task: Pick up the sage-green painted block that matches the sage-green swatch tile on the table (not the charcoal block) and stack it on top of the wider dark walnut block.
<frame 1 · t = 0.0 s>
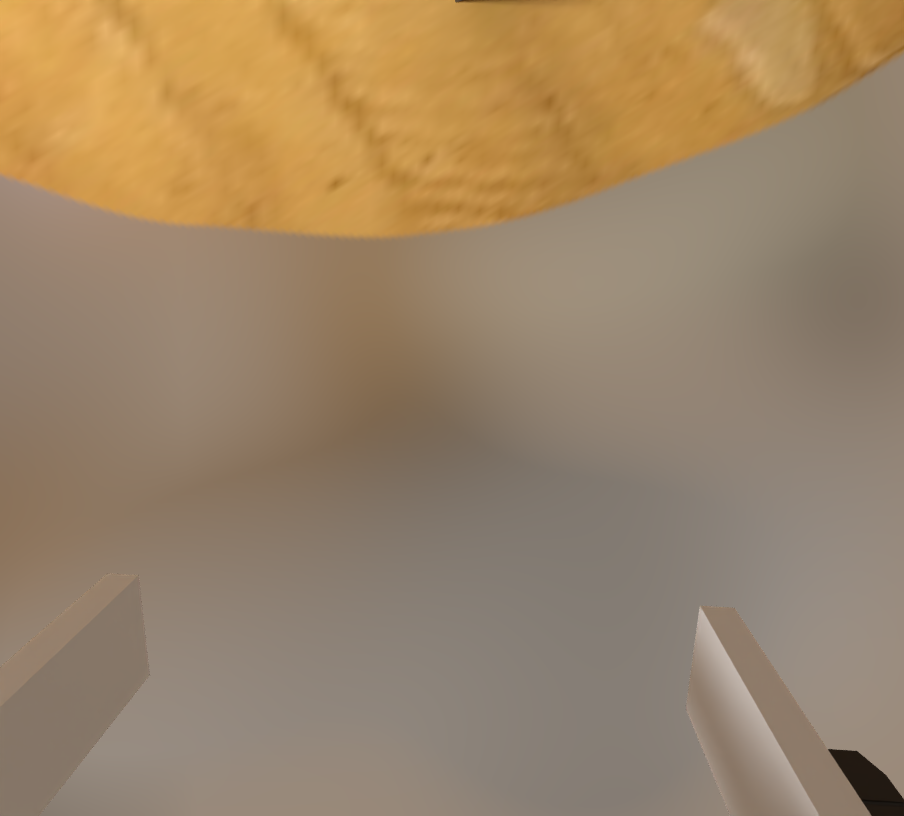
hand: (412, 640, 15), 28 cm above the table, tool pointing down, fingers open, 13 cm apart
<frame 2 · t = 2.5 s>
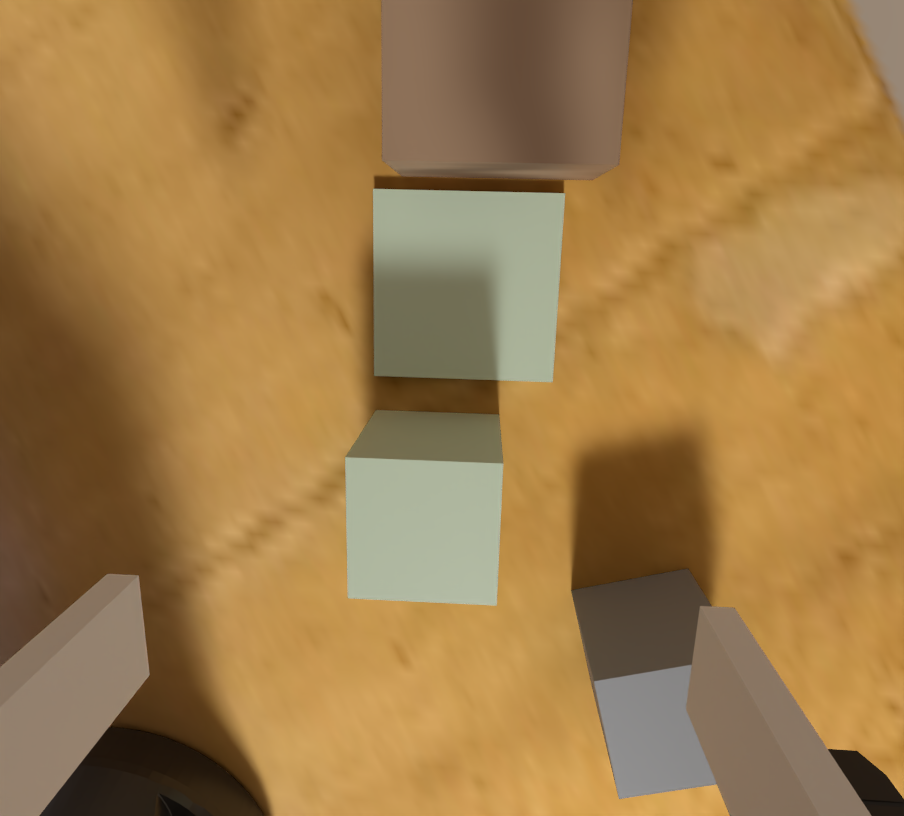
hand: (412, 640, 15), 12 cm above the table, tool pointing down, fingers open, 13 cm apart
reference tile: (465, 287, 25), on the table
sage block: (436, 469, 27), on the table
charcoal block: (638, 629, 28), on the table
walnut base: (500, 75, 23), on the table
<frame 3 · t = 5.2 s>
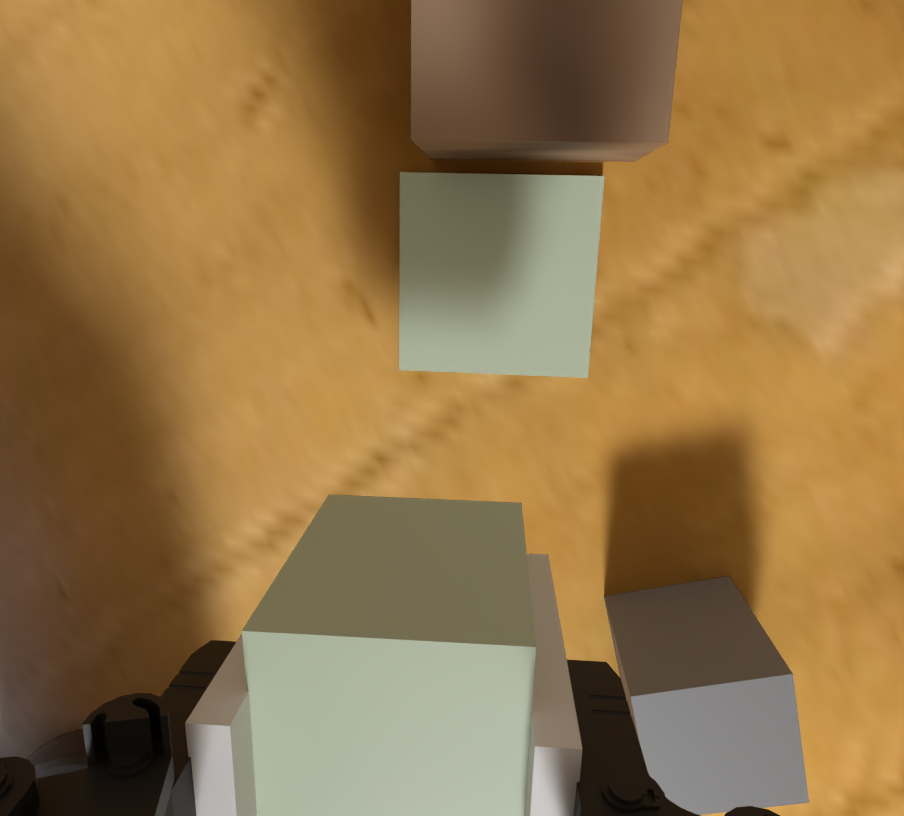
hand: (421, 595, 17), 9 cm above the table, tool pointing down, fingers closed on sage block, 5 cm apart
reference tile: (496, 277, 23), on the table
sage block: (423, 585, 17), point 9 cm above the table, touching gripper
charcoal block: (674, 638, 27), on the table
walnut base: (536, 49, 21), on the table
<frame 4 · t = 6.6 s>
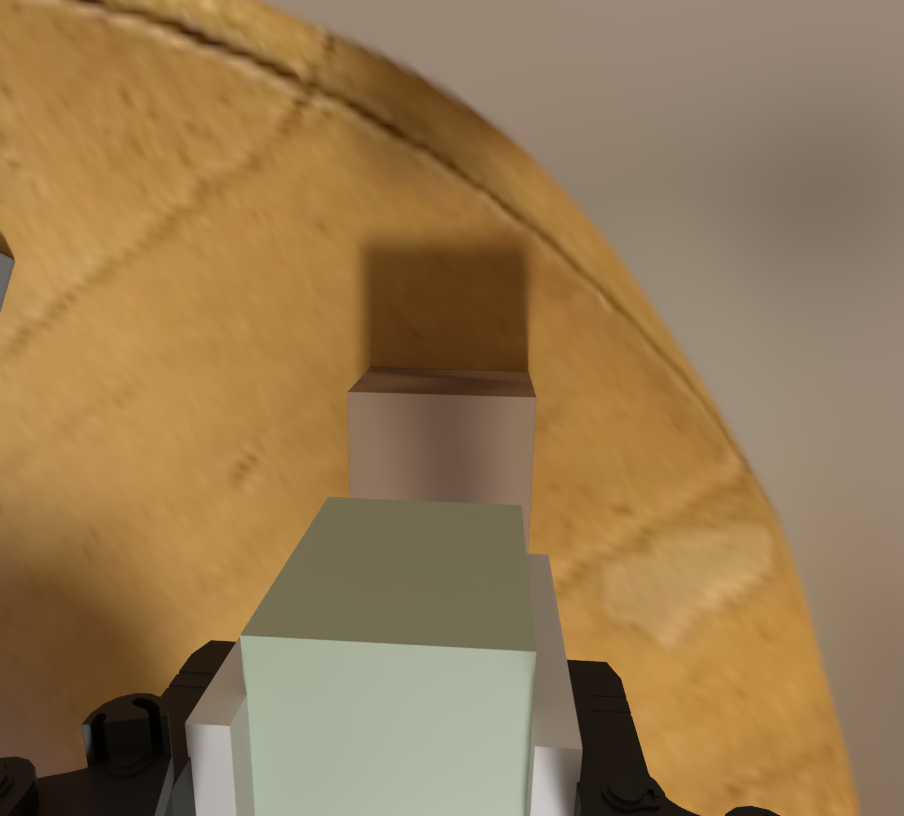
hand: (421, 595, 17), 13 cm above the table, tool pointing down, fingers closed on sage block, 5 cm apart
sage block: (423, 587, 17), point 12 cm above the table, touching gripper
walnut base: (448, 443, 29), on the table
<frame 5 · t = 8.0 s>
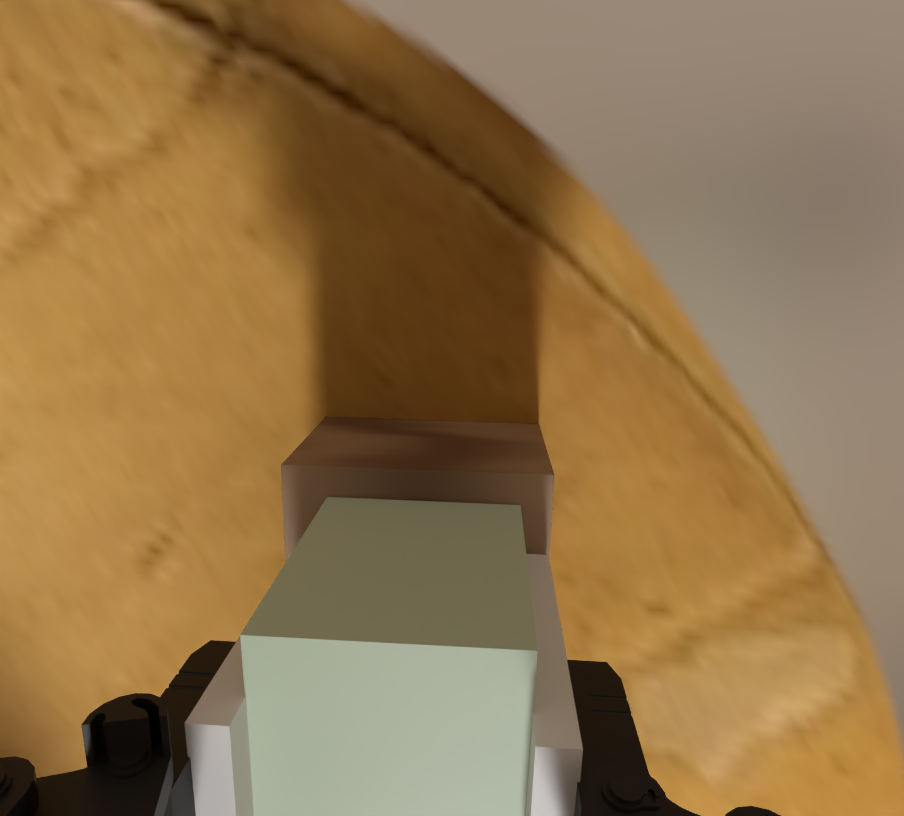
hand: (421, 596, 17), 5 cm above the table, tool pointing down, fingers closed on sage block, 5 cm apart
sage block: (422, 587, 17), point 5 cm above the table, touching gripper, walnut base
walnut base: (430, 516, 22), on the table, touching gripper, sage block
when the fingers open (5 cm above the table, at t = 8.4 s): sage block stays where it is, point 5 cm above the table.
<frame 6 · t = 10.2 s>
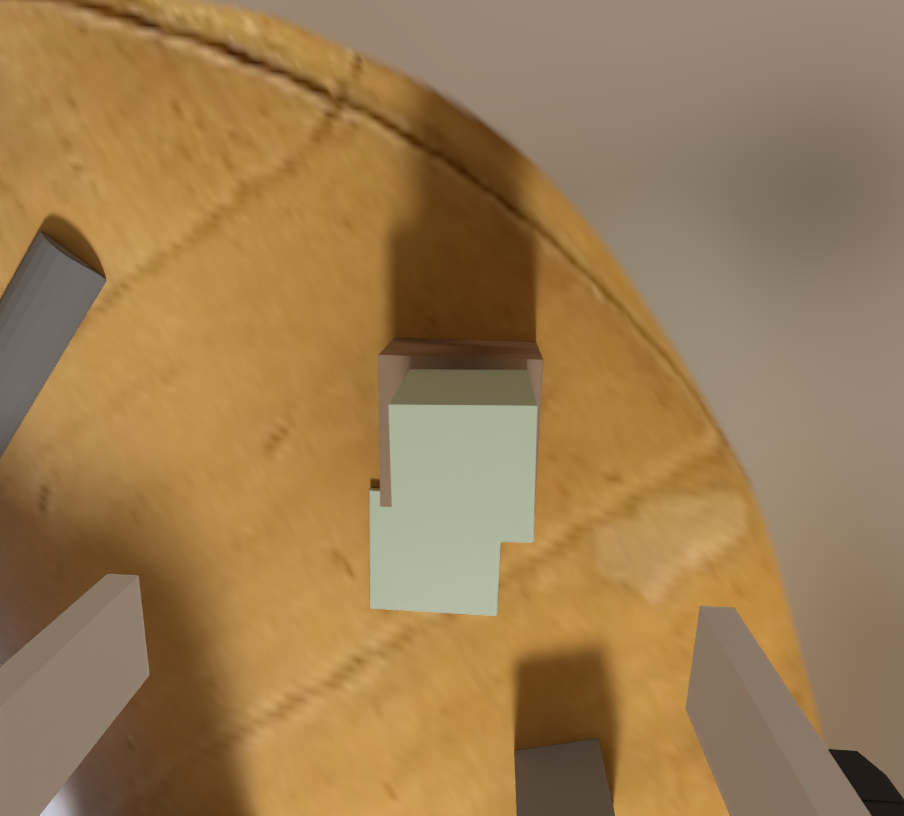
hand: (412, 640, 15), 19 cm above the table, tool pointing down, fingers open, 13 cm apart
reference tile: (435, 551, 35), on the table
sage block: (468, 425, 28), point 5 cm above the table
dark grey piece: (1, 395, 35), on the table
charcoal block: (564, 778, 38), on the table
walnut base: (463, 406, 33), on the table
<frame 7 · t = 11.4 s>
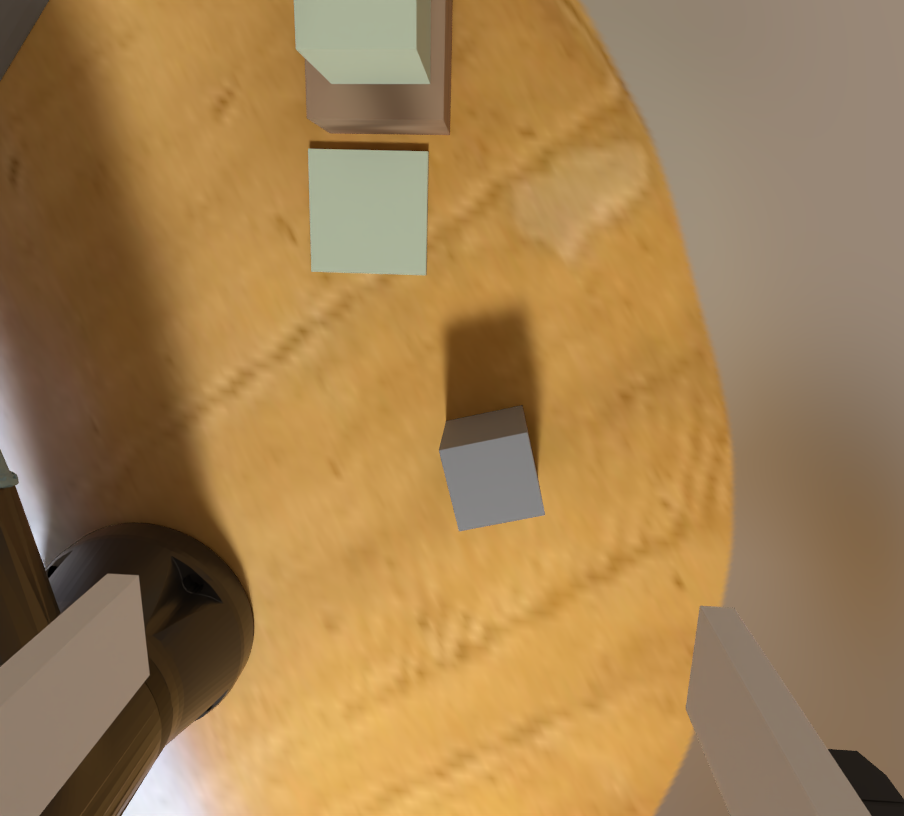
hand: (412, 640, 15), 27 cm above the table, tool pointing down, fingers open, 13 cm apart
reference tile: (369, 213, 38), on the table
sage block: (379, 28, 32), point 5 cm above the table, touching walnut base
charcoal block: (492, 449, 42), on the table
walnut base: (389, 68, 37), on the table, touching sage block
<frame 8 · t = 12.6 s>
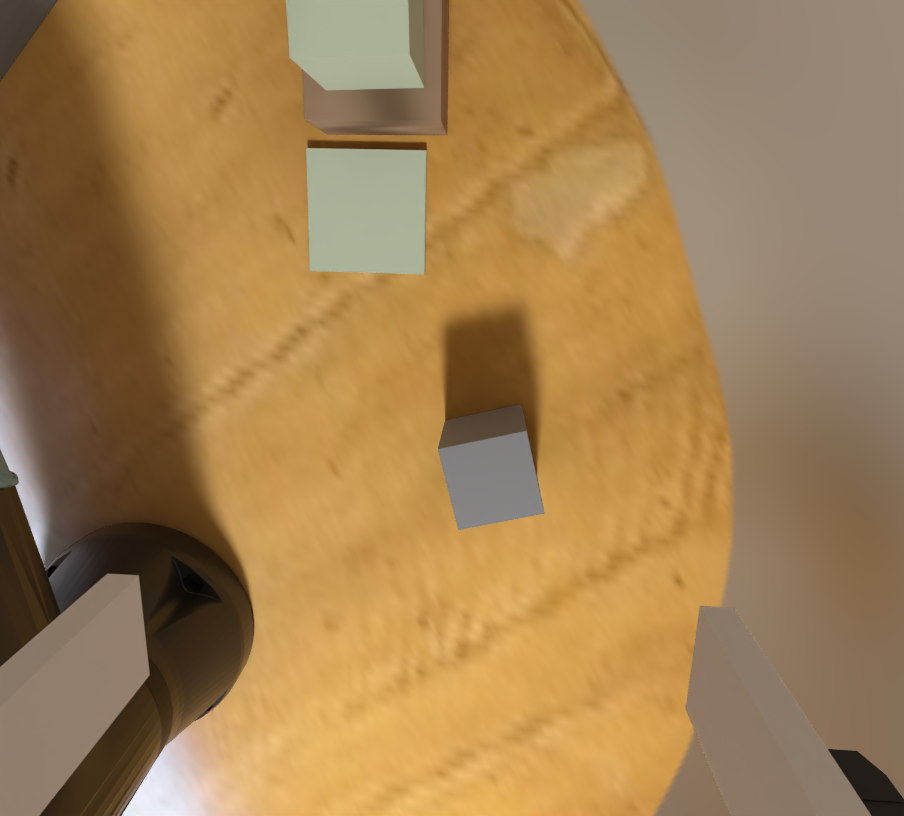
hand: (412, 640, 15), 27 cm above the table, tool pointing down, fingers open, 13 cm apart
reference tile: (367, 212, 38), on the table
sage block: (372, 33, 32), point 5 cm above the table, touching walnut base
charcoal block: (491, 447, 42), on the table
walnut base: (386, 69, 37), on the table, touching sage block
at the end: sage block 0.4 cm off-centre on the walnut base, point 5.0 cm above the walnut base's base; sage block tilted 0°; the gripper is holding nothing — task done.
